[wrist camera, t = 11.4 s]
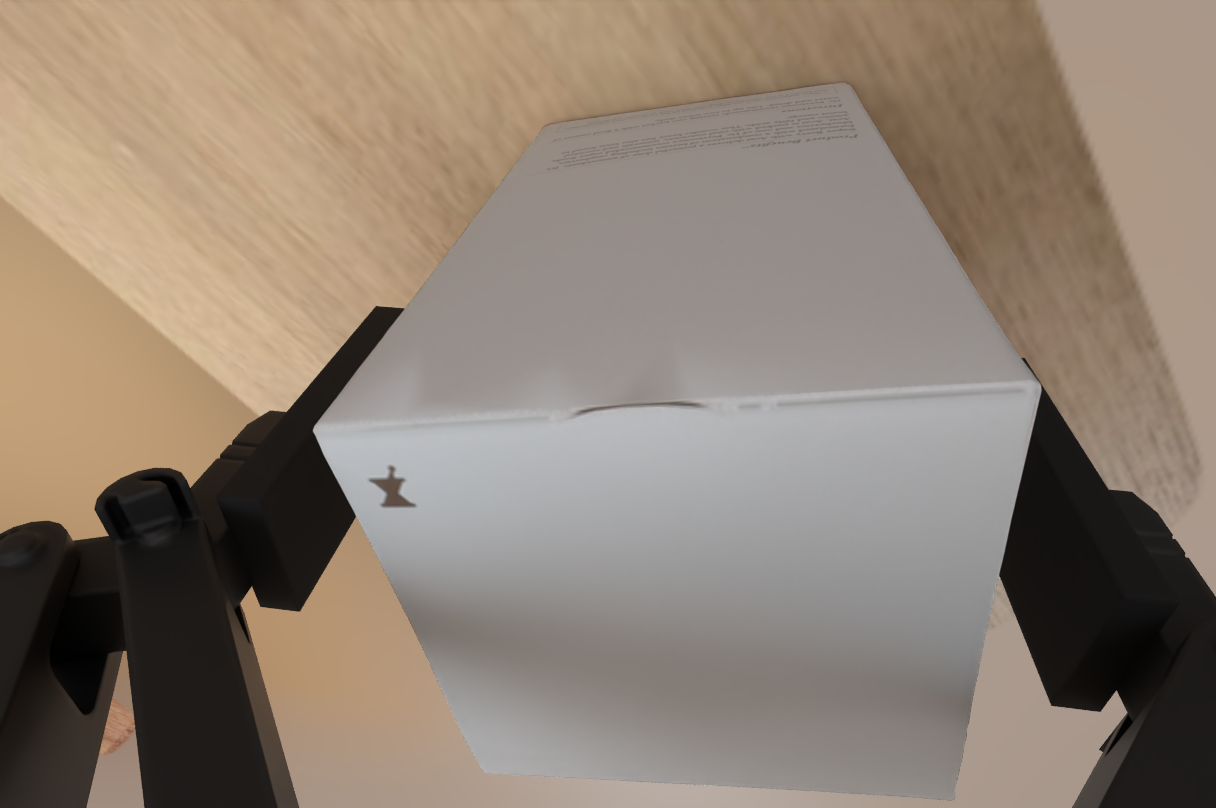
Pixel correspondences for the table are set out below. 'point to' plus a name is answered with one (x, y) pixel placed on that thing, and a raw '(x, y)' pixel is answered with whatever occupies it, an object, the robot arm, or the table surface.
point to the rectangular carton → (698, 457)
